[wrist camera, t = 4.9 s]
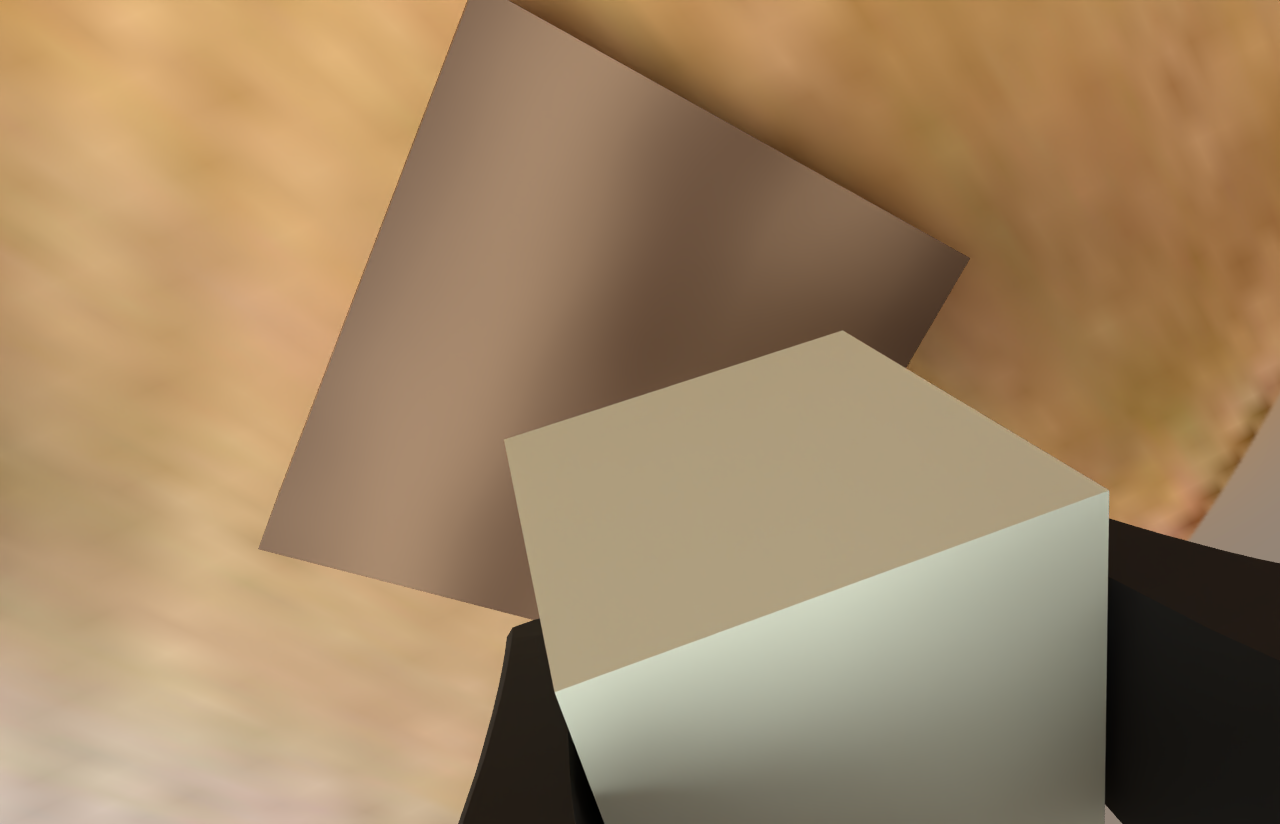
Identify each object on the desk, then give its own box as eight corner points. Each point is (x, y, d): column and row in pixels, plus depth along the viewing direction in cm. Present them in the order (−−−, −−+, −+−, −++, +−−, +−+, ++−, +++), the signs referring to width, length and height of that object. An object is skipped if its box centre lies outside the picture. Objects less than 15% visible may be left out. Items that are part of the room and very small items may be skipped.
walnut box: (901, 235, 21) (970, 258, 18) (695, 603, 24) (728, 670, 21) (468, -3, 17) (476, -18, 14) (281, 484, 20) (258, 549, 17)
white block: (842, 330, 11) (1109, 489, 7) (880, 603, 14) (1103, 863, 9) (504, 440, 11) (555, 692, 6) (598, 707, 13) (686, 1040, 8)
